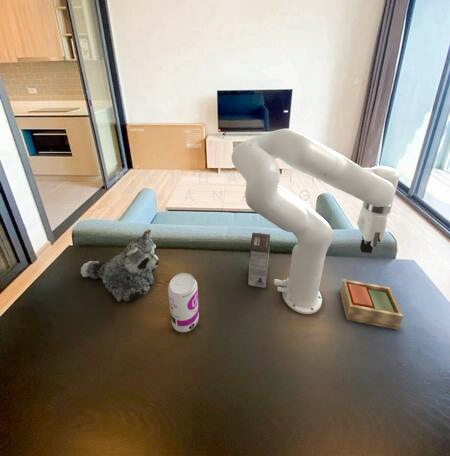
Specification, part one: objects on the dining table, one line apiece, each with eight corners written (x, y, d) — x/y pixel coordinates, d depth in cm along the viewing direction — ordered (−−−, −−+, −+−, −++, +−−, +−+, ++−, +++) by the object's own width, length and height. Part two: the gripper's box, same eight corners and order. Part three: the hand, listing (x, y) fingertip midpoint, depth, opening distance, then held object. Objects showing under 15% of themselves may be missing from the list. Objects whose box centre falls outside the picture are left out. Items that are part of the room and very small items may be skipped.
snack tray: (346, 319, 74) (350, 306, 72) (339, 291, 83) (342, 279, 81) (398, 329, 71) (403, 316, 69) (385, 299, 81) (389, 287, 79)
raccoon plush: (158, 305, 78) (152, 253, 71) (62, 302, 79) (45, 251, 71) (169, 267, 93) (165, 221, 85) (87, 266, 93) (76, 219, 86)
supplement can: (203, 313, 76) (202, 277, 70) (189, 338, 69) (186, 300, 63) (181, 303, 79) (178, 267, 74) (165, 326, 72) (161, 289, 67)
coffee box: (250, 265, 94) (252, 231, 88) (267, 268, 93) (270, 233, 87) (247, 285, 85) (249, 249, 80) (266, 288, 84) (269, 251, 78)
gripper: (357, 192, 84) (348, 235, 91) (371, 217, 71) (359, 266, 77) (381, 194, 83) (370, 238, 89) (400, 220, 69) (385, 269, 76)
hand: (365, 250), depth 83 cm, fingers closed
